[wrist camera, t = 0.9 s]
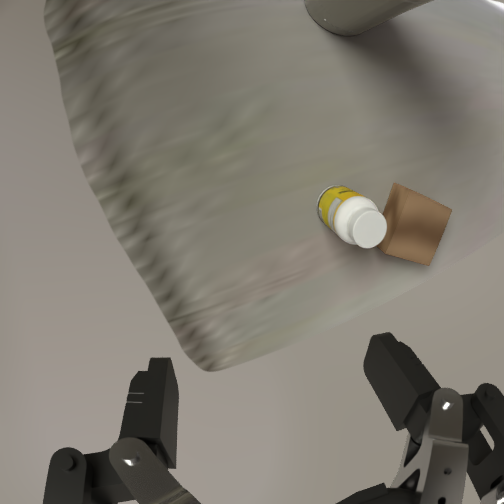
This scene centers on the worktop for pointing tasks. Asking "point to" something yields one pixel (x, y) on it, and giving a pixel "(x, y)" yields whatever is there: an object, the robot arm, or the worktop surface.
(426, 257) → the walnut block
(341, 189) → the supplement bottle
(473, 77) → the worktop surface
